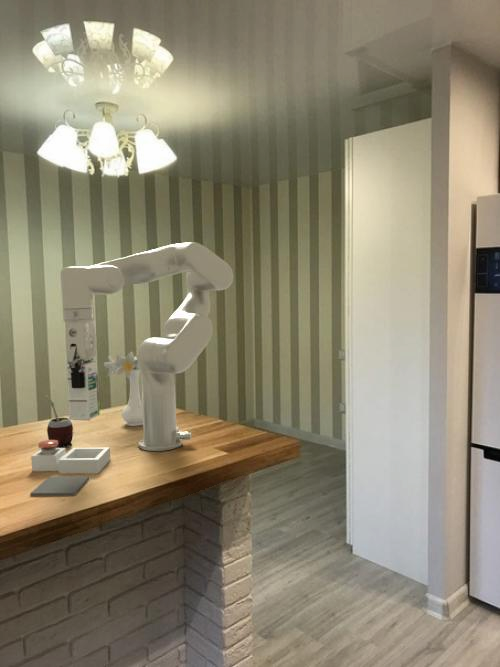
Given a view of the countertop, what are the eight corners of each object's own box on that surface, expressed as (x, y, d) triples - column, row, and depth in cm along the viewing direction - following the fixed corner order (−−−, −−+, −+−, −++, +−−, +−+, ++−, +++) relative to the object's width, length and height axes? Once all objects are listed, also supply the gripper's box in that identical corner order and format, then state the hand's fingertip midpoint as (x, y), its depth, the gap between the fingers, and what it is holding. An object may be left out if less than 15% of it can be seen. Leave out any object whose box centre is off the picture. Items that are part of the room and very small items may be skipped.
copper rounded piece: (62, 461, 139) (61, 439, 139) (54, 467, 134) (53, 445, 134) (44, 461, 139) (43, 439, 139) (36, 467, 134) (35, 445, 134)
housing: (110, 460, 141) (109, 445, 141) (98, 473, 131) (97, 457, 131) (45, 460, 142) (44, 446, 141) (28, 473, 132) (28, 458, 132)
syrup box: (89, 420, 132) (87, 364, 131) (67, 420, 133) (65, 363, 132) (99, 415, 138) (98, 360, 137) (79, 414, 139) (77, 360, 138)
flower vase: (116, 418, 186) (113, 348, 184) (165, 420, 183) (163, 349, 181) (99, 428, 174) (96, 353, 171) (152, 430, 170) (149, 353, 168)
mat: (89, 479, 127) (89, 476, 127) (74, 495, 117) (74, 492, 117) (48, 479, 128) (48, 477, 128) (30, 495, 118) (30, 493, 118)
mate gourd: (71, 448, 152) (69, 397, 151) (43, 451, 150) (40, 399, 149) (74, 441, 159) (72, 392, 158) (47, 443, 158) (44, 394, 156)
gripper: (81, 317, 124) (86, 392, 126) (103, 312, 142) (107, 378, 143) (50, 318, 125) (55, 392, 126) (76, 313, 142) (80, 379, 144)
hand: (83, 384), depth 135 cm, fingers closed on syrup box, 6 cm apart
